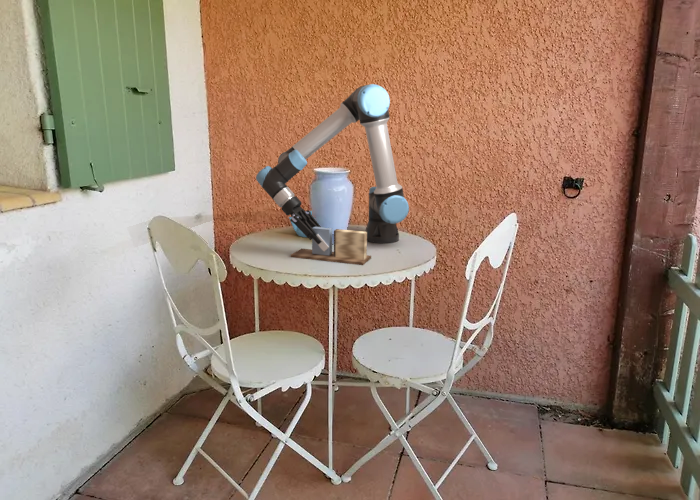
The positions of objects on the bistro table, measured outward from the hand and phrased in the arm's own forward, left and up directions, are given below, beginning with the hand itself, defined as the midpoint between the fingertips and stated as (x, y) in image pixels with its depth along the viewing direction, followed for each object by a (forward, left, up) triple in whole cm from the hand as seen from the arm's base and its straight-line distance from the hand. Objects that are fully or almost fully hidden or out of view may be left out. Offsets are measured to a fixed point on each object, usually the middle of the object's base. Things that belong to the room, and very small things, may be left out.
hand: (328, 248), depth 207 cm
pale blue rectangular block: (+2, -2, -2) cm, 4 cm away
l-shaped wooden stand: (-1, +1, -4) cm, 4 cm away
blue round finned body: (-8, -38, -4) cm, 39 cm away
